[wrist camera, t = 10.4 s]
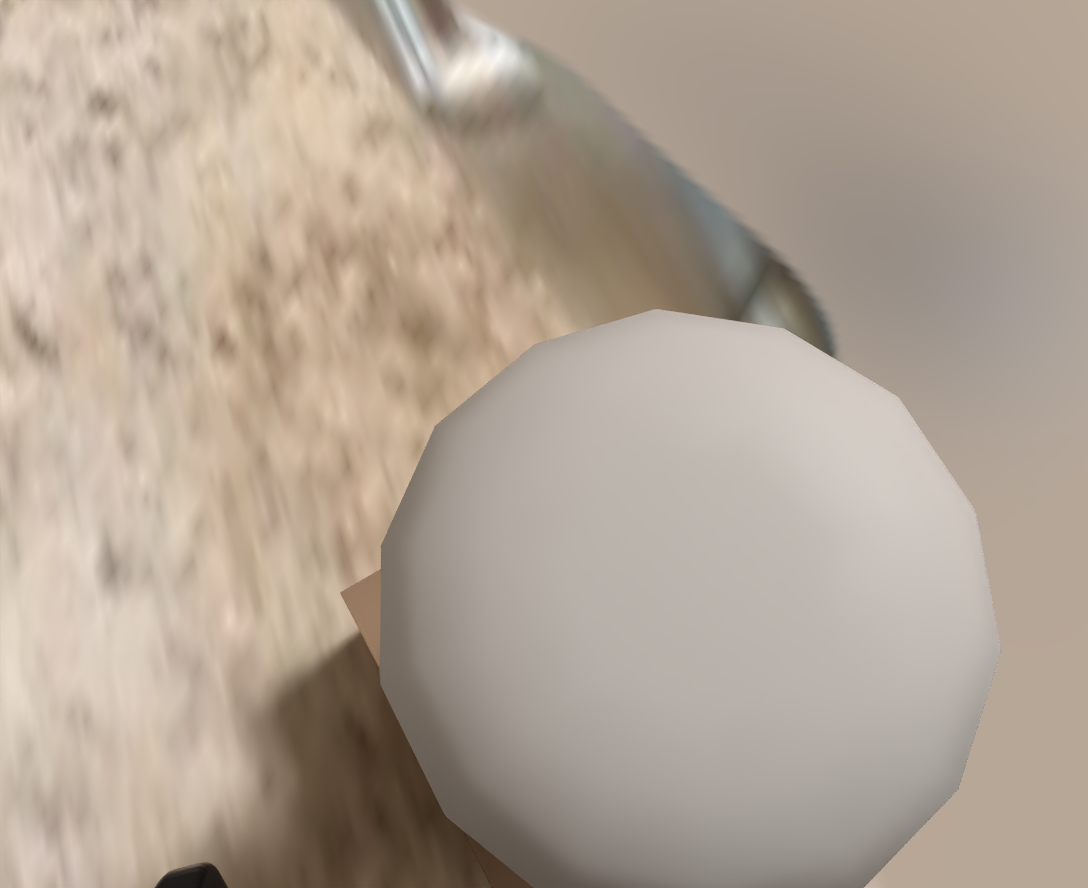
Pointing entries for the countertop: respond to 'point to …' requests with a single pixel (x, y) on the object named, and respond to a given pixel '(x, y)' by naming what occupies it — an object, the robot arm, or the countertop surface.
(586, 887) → the salt shaker
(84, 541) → the countertop surface
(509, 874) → the walnut plinth
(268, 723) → the countertop surface
